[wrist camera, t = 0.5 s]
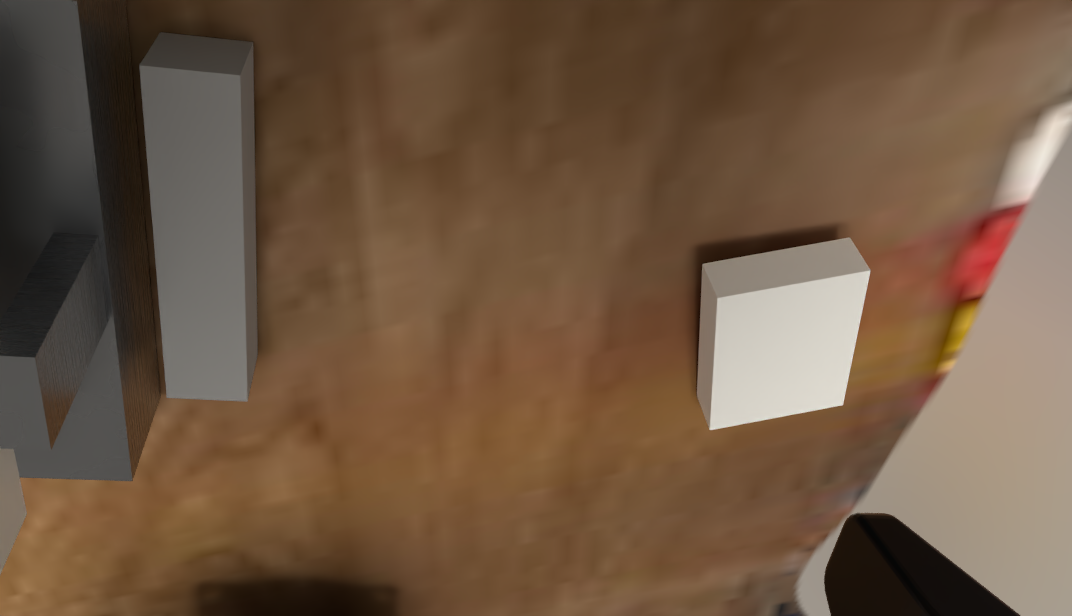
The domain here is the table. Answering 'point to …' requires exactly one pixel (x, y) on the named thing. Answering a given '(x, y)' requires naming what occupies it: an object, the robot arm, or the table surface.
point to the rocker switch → (9, 503)
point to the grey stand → (72, 245)
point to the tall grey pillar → (203, 211)
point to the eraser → (778, 331)
